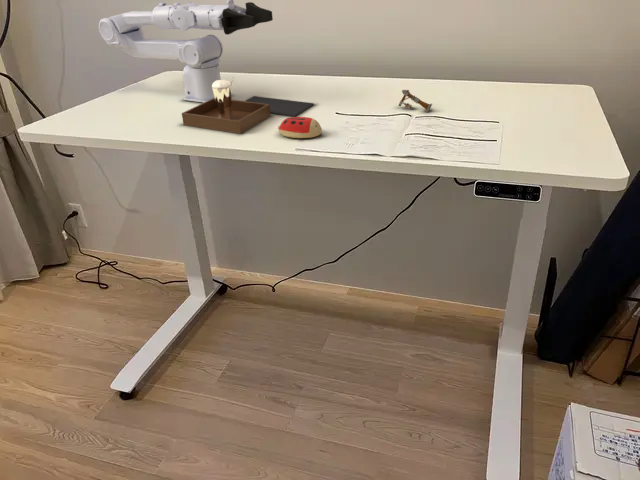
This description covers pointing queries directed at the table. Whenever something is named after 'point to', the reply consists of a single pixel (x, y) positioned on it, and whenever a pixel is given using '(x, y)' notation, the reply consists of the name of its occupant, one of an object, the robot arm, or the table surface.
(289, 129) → the ladybug figurine
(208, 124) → the tray
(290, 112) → the mouse pad
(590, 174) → the table surface
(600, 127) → the table surface
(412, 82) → the table surface
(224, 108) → the milkshake
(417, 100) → the wooden post with brackets
